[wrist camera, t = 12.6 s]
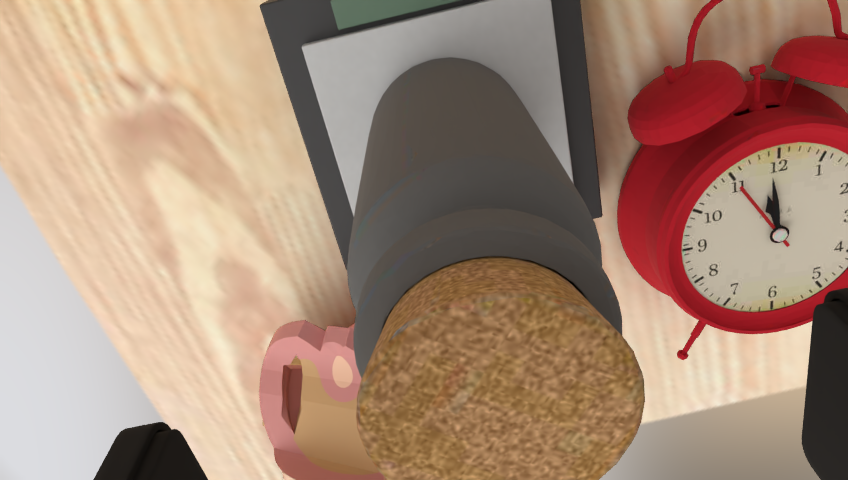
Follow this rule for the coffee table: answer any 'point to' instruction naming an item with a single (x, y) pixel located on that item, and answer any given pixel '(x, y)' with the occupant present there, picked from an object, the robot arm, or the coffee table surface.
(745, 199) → the alarm clock
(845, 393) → the robot arm
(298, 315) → the coffee table surface
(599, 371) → the bottle
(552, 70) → the scale
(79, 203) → the coffee table surface
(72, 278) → the coffee table surface
